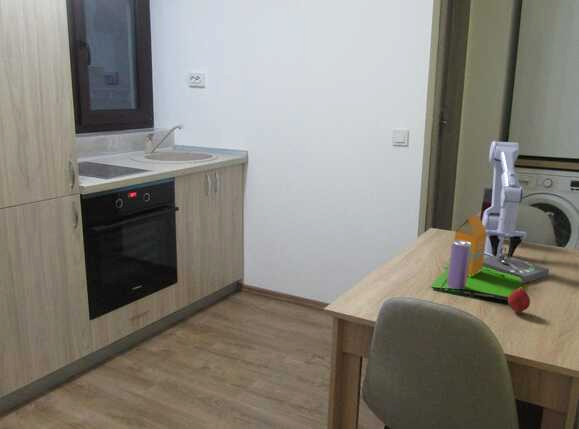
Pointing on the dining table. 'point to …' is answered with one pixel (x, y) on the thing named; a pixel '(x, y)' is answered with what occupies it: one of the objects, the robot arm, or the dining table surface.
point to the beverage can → (459, 264)
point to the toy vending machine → (486, 199)
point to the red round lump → (519, 300)
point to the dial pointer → (505, 258)
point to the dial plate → (524, 268)
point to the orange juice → (473, 241)
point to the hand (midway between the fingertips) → (502, 255)
